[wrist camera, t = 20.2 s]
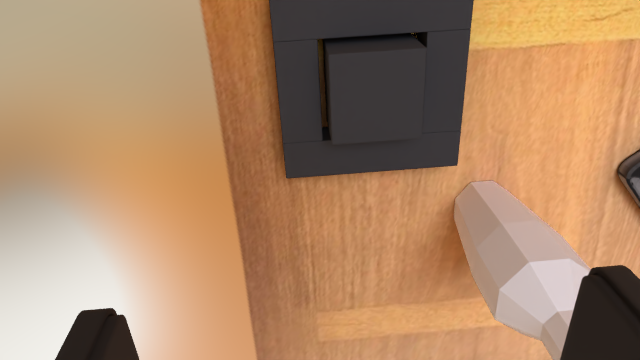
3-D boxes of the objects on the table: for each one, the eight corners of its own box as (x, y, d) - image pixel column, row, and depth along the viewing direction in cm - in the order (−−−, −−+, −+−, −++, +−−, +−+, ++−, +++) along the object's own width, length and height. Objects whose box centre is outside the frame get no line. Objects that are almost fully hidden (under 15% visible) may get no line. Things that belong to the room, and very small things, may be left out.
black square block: (322, 37, 33) (328, 54, 29) (410, 32, 33) (427, 47, 29) (326, 120, 36) (331, 145, 32) (406, 114, 36) (421, 138, 32)
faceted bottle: (431, 227, 41) (561, 502, 22) (461, 162, 38) (640, 413, 19) (498, 241, 42) (676, 513, 23) (531, 179, 40) (767, 430, 20)
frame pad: (269, -11, 31) (268, -5, 29) (462, -23, 32) (475, -18, 30) (286, 163, 37) (286, 178, 35) (447, 151, 38) (457, 165, 36)
